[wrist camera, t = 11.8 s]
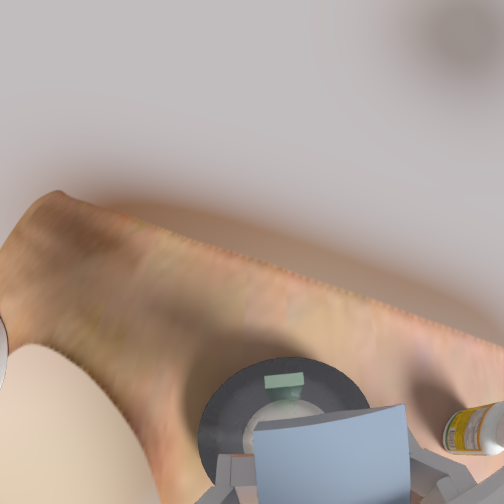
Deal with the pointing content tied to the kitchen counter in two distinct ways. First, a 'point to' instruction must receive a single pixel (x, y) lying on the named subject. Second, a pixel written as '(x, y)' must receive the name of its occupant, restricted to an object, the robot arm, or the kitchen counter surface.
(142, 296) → the kitchen counter surface
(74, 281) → the kitchen counter surface
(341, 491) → the block
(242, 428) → the stand
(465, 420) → the supplement bottle
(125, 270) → the kitchen counter surface
